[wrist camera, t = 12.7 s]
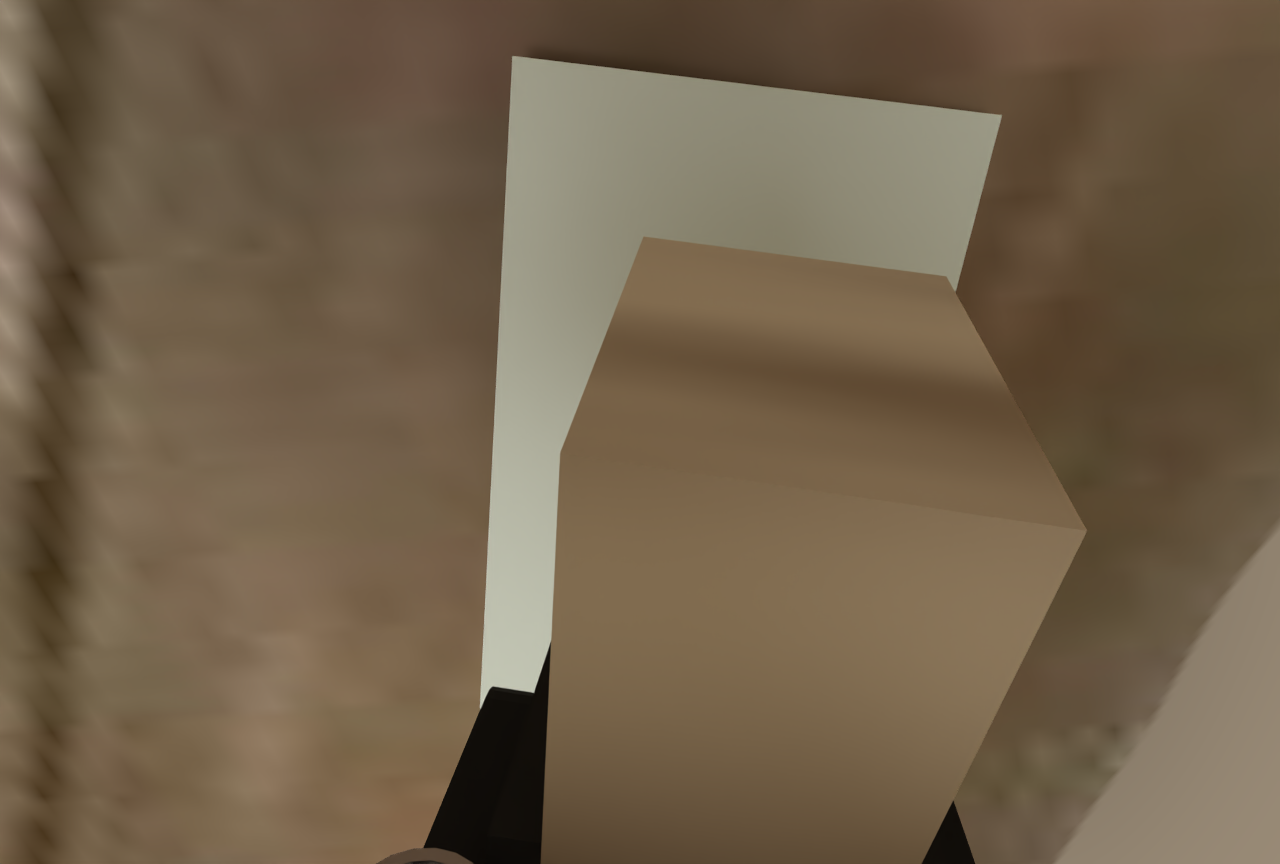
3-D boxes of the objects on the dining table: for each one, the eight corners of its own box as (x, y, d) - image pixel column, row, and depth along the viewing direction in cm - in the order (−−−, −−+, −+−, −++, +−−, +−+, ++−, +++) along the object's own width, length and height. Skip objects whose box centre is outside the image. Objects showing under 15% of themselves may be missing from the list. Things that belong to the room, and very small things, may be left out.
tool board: (522, 59, 17) (512, 55, 17) (986, 115, 17) (1002, 115, 16) (482, 814, 26) (473, 840, 25) (795, 863, 25) (798, 892, 24)
